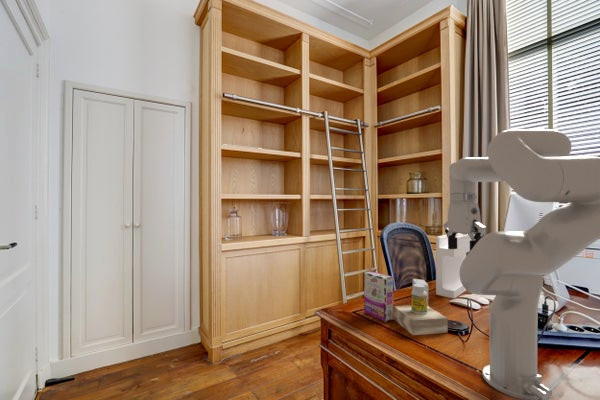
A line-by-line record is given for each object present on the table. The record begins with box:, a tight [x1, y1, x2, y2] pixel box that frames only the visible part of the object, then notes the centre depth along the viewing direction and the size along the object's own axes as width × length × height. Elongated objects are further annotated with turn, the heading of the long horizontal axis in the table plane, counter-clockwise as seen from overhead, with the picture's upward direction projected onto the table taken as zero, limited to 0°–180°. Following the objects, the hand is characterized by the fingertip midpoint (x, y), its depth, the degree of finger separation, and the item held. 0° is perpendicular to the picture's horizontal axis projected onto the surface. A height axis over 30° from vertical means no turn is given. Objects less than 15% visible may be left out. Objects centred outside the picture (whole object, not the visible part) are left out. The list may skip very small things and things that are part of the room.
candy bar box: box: [363, 270, 394, 323], centre depth 113 cm, size 11×5×16 cm, turn 33°
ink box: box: [411, 278, 429, 306], centre depth 119 cm, size 9×5×12 cm, turn 168°
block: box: [435, 233, 475, 299], centre depth 148 cm, size 35×8×28 cm, turn 134°
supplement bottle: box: [410, 284, 427, 314], centre depth 104 cm, size 5×5×10 cm
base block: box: [393, 304, 449, 336], centre depth 104 cm, size 13×13×5 cm
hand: (463, 250), depth 95 cm, fingers open, 9 cm apart
